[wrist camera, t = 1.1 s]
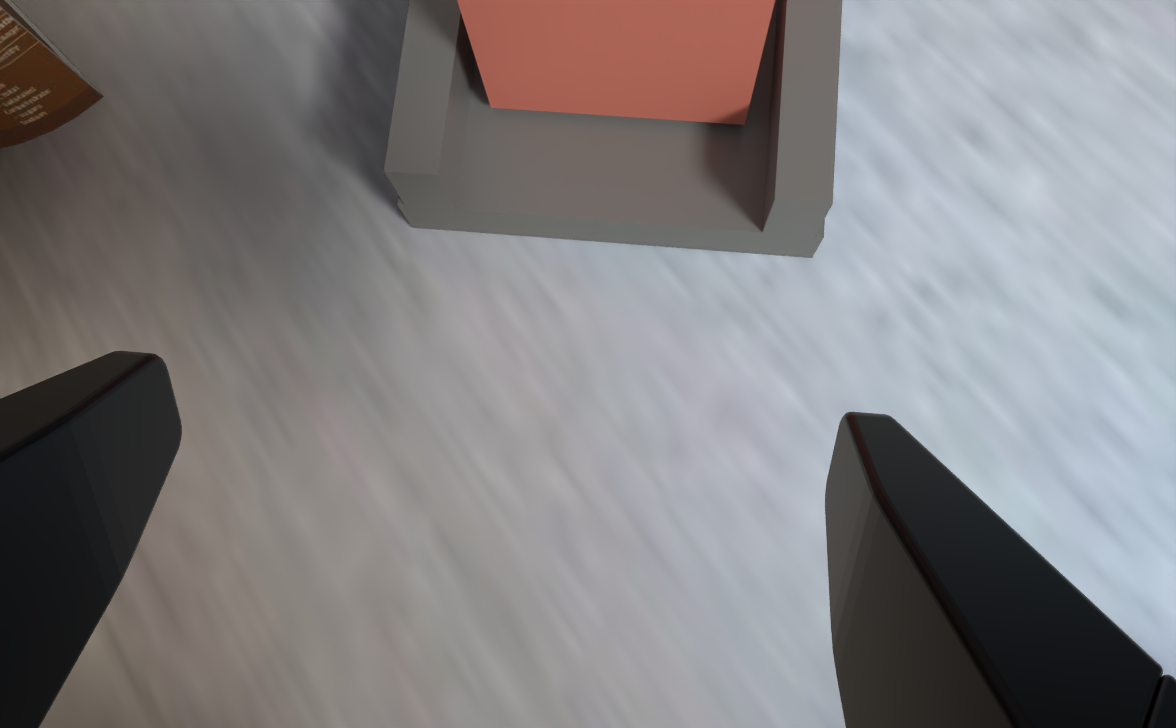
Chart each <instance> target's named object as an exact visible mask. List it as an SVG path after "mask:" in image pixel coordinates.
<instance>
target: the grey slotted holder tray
mask: <svg viewBox="0 0 1176 728" xmlns="http://www.w3.org/2000/svg"><path fill="white" fill-rule="evenodd" d="M841 15H842V0H775V3H774V7H773V11H772V15H771V19H770V23H769V28H768V32H767V36H766V40H765V44H764V48H763V52H762V56H761V60H760V64H759V68H758V72H757V76H756V81H755V85H754V89H753V93H752V97H751V101H750V105H749V109H748V113H747V117H746V121H745V125H740V124H725V123H710V122H695V121H680V120H666V119H651V118H636V117H621V116H606V115H591V114H577V113H562V112H547V111H532V110H517V109H503V108H491V106H490V103H489V100H488V97H487V93H486V90H485V87H484V84H483V81H482V77H481V74H480V71H479V68H478V65H477V62H476V58H475V55H474V52H473V49H472V46H471V43H470V39H469V36H468V33H467V30H466V27H465V24H464V20H463V17H462V14H461V11H460V8H459V5H458V1H457V0H409V6H408V13H407V20H406V26H405V33H404V40H403V46H402V53H401V59H400V66H399V73H398V79H397V86H396V92H395V99H394V106H393V112H392V119H391V126H390V132H389V139H388V145H387V152H386V159H385V165H384V173H385V174H386V176H387V177H388V179H389V181H390V182H391V184H392V185H393V187H394V188H395V190H396V192H397V193H398V195H399V196H398V203H397V206H398V207H399V209H400V210H401V212H402V213H403V215H404V216H405V218H406V219H407V221H408V222H409V224H410V225H411V227H416V228H429V229H442V230H455V231H468V232H481V233H494V234H507V235H520V236H533V237H547V238H560V239H573V240H586V241H599V242H612V243H625V244H638V245H651V246H664V247H677V248H690V249H703V250H716V251H729V252H742V253H755V254H768V255H782V256H795V257H808V258H812V257H813V255H814V253H815V252H816V250H817V248H818V246H819V245H820V243H821V241H822V239H823V237H824V222H825V217H826V215H827V213H828V211H829V209H830V208H831V206H832V203H833V182H834V162H835V141H836V120H837V99H838V78H839V57H840V36H841Z"/></svg>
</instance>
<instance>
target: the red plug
mask: <svg viewBox="0 0 1176 728" xmlns="http://www.w3.org/2000/svg"><path fill="white" fill-rule="evenodd" d="M457 1H458V5H459V8H460V11H461V14H462V17H463V20H464V24H465V27H466V30H467V33H468V36H469V39H470V43H471V46H472V49H473V52H474V55H475V58H476V62H477V65H478V68H479V71H480V74H481V77H482V81H483V84H484V87H485V90H486V93H487V97H488V100H489V103H490V106H491V108H503V109H517V110H532V111H547V112H562V113H577V114H591V115H606V116H621V117H636V118H651V119H666V120H680V121H695V122H710V123H725V124H740V125H745V121H746V117H747V113H748V109H749V105H750V101H751V97H752V93H753V89H754V85H755V81H756V76H757V72H758V68H759V64H760V60H761V56H762V52H763V48H764V44H765V40H766V36H767V32H768V28H769V23H770V19H771V15H772V11H773V7H774V3H775V0H457Z"/></svg>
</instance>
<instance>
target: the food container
mask: <svg viewBox="0 0 1176 728" xmlns="http://www.w3.org/2000/svg"><path fill="white" fill-rule="evenodd" d="M102 97H103V95H102V94H101V93H100V92H99V91H98V90H97V89H96V88H95V87H94V86H93V85H92V84H91V83H90V82H89V81H88V80H87V79H86V78H85V77H84V76H83V75H82V74H81V73H80V72H79V70H78V69H77V68H76V67H75V66H74V65H73V64H72V63H71V62H70V61H69V60H68V59H67V58H66V57H65V56H64V55H63V54H62V53H61V52H60V51H59V50H58V49H57V48H56V47H55V46H54V45H53V43H52V42H51V41H50V40H49V39H48V38H47V37H46V36H45V35H44V34H43V33H42V32H41V31H40V30H39V29H38V28H37V27H36V26H35V25H34V24H33V23H32V22H31V21H30V20H29V19H28V18H27V16H26V15H25V14H24V13H23V12H22V11H21V10H20V9H19V8H18V7H17V6H16V5H15V4H14V3H13V2H12V1H11V0H0V148H4V147H8V146H12V145H15V144H19V143H23V142H26V141H29V140H31V139H34V138H36V137H38V136H41V135H43V134H46V133H48V132H51V131H53V130H55V129H56V128H58V127H60V126H62V125H63V124H65V123H67V122H69V121H70V120H72V119H74V118H76V117H77V116H79V115H80V114H81V113H83V112H84V111H85V110H87V109H88V108H89V107H90V106H92V105H93V104H94V103H96V102H97V101H98V100H100V99H101V98H102Z"/></svg>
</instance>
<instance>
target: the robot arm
mask: <svg viewBox="0 0 1176 728" xmlns="http://www.w3.org/2000/svg"><path fill="white" fill-rule="evenodd" d="M181 435H182V425H181V419H180V416H179V412H178V408H177V404H176V400H175V396H174V392H173V388H172V384H171V380H170V376H169V373H168V369H167V366H166V364H165V362H164V361H163V359H162V358H160V357H159V356H157V355H156V354H152V353H140V352H128V351H115V352H112V353H109V354H107V355H104V356H102V357H99V358H97V359H95V360H92V361H90V362H87V363H85V364H83V365H80V366H78V367H76V368H73V369H71V370H68V371H66V372H64V373H61V374H59V375H56V376H54V377H52V378H49V379H47V380H44V381H42V382H40V383H37V384H35V385H33V386H30V387H28V388H25V389H23V390H21V391H18V392H16V393H13V394H11V395H9V396H6V397H4V398H1V399H0V728H39V727H40V725H41V723H42V721H43V720H44V718H45V716H46V714H47V712H48V711H49V709H50V707H51V705H52V704H53V702H54V700H55V698H56V697H57V695H58V693H59V691H60V690H61V688H62V686H63V684H64V682H65V681H66V679H67V677H68V675H69V674H70V672H71V670H72V668H73V667H74V665H75V663H76V661H77V659H78V658H79V656H80V654H81V652H82V651H83V649H84V647H85V645H86V644H87V642H88V640H89V638H90V636H91V635H92V633H93V631H94V629H95V628H96V626H97V624H98V622H99V621H100V619H101V617H102V615H103V613H104V612H105V610H106V608H107V606H108V605H109V603H110V601H111V599H112V597H113V595H114V594H115V592H116V590H117V588H118V586H119V584H120V582H121V580H122V579H123V576H124V574H125V572H126V570H127V568H128V566H129V564H130V561H131V559H132V557H133V555H134V552H135V550H136V548H137V545H138V543H139V541H140V538H141V536H142V534H143V531H144V529H145V527H146V524H147V522H148V520H149V517H150V515H151V513H152V510H153V508H154V505H155V503H156V501H157V498H158V496H159V494H160V491H161V489H162V487H163V484H164V482H165V480H166V477H167V475H168V473H169V470H170V468H171V465H172V463H173V461H174V458H175V456H176V454H177V451H178V449H179V446H180V441H181ZM825 514H826V535H827V555H828V575H829V596H830V616H831V632H832V645H833V654H834V661H835V668H836V675H837V680H838V686H839V691H840V697H841V703H842V708H843V714H844V719H845V725H846V728H1176V679H1175V678H1174V677H1173V676H1171V675H1164V676H1162V674H1163V669H1162V667H1161V666H1160V665H1159V664H1158V663H1157V662H1156V661H1155V660H1154V659H1153V658H1152V657H1151V656H1150V655H1148V654H1147V653H1146V652H1145V651H1144V650H1143V649H1142V648H1141V647H1140V646H1139V645H1138V644H1137V643H1136V642H1134V641H1133V640H1132V639H1131V638H1130V637H1129V636H1128V635H1127V634H1126V633H1125V632H1124V631H1123V630H1121V629H1120V628H1119V627H1118V626H1117V625H1116V624H1115V623H1114V622H1113V621H1112V620H1111V619H1110V618H1109V617H1107V616H1106V615H1105V614H1104V613H1103V612H1102V611H1101V610H1100V609H1099V608H1098V607H1097V606H1096V605H1095V604H1093V603H1092V602H1091V601H1090V600H1089V599H1088V598H1087V597H1086V596H1085V595H1084V594H1083V593H1082V592H1080V591H1079V590H1078V589H1077V588H1076V587H1075V586H1074V585H1073V584H1072V583H1071V582H1070V581H1069V580H1068V579H1066V578H1065V577H1064V576H1063V575H1062V574H1061V573H1060V572H1059V571H1058V570H1057V569H1056V568H1055V567H1054V566H1052V565H1051V564H1050V563H1049V562H1048V561H1047V560H1046V559H1045V558H1044V557H1043V556H1042V555H1041V554H1039V553H1038V552H1037V551H1036V550H1035V549H1034V548H1033V547H1032V546H1031V545H1030V544H1029V543H1028V542H1027V541H1025V540H1024V539H1023V538H1022V537H1021V536H1020V535H1019V534H1018V533H1017V532H1016V531H1015V530H1014V529H1013V528H1011V527H1010V526H1009V525H1008V524H1007V523H1006V522H1005V521H1004V520H1003V519H1002V518H1001V517H1000V516H998V515H997V514H996V513H995V512H994V511H993V510H992V509H991V508H990V507H989V506H988V505H987V504H986V503H984V502H983V501H982V500H981V499H980V498H979V497H978V496H977V495H976V494H975V493H974V492H973V491H972V490H970V489H969V488H968V487H967V486H966V485H965V484H964V483H963V482H962V481H961V480H960V479H959V478H957V477H956V476H955V475H954V474H953V473H952V472H951V471H950V470H949V469H948V468H947V467H946V466H945V465H943V464H942V463H941V462H940V461H939V460H938V459H937V458H936V457H935V456H934V455H933V454H932V453H931V452H929V451H928V450H927V449H926V448H925V447H924V446H923V445H922V444H921V443H920V442H919V441H918V440H916V439H915V438H914V437H913V436H912V435H911V434H910V433H909V432H908V431H907V430H906V429H905V428H904V427H902V426H901V425H900V424H899V423H898V422H897V421H896V420H895V419H893V418H892V417H891V416H889V415H885V414H873V413H860V412H848V413H846V414H845V415H844V416H843V417H842V419H841V421H840V424H839V428H838V433H837V437H836V442H835V446H834V451H833V455H832V460H831V465H830V469H829V474H828V478H827V484H826V493H825ZM1161 677H1162V678H1161Z"/></svg>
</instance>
